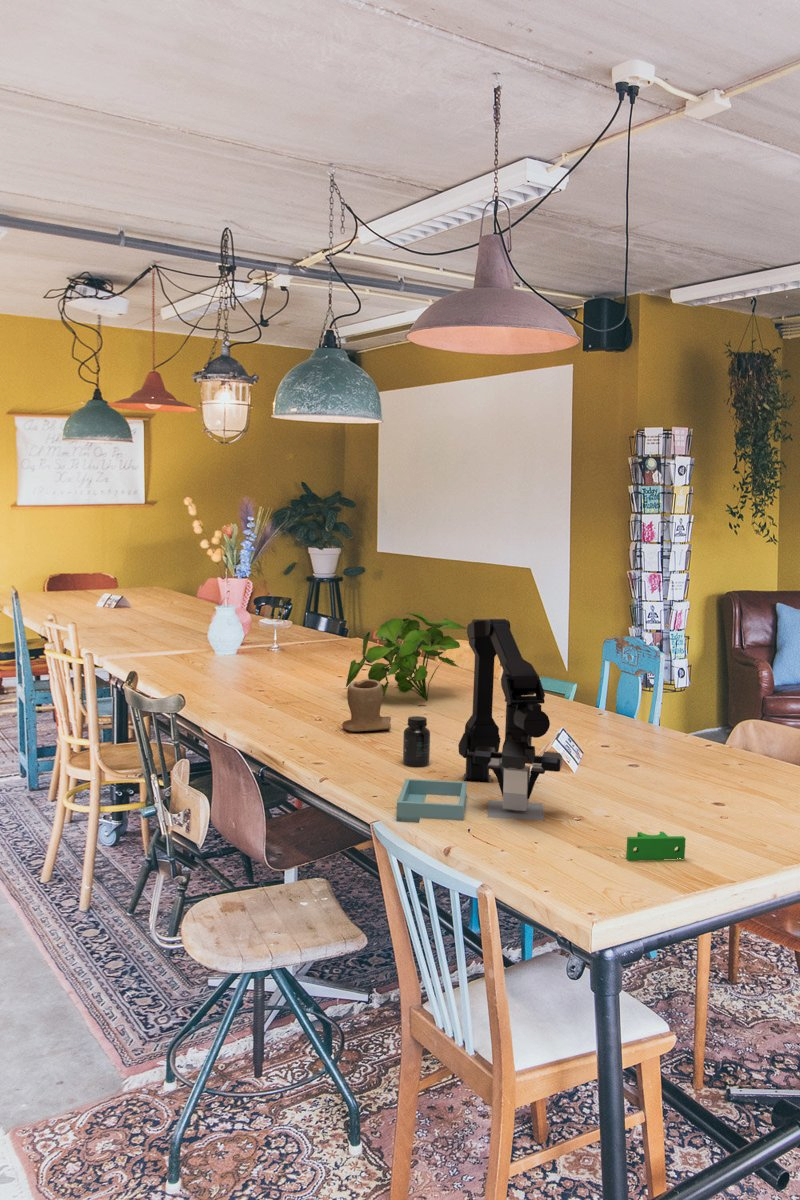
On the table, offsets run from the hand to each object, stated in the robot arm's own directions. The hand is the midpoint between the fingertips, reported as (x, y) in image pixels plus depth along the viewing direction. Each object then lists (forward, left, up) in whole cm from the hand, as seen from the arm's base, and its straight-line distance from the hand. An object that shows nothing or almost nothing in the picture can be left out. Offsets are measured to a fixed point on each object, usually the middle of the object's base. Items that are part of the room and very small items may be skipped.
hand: (516, 797), depth 212 cm
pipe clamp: (+21, +26, -4) cm, 34 cm away
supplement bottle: (-37, -25, -4) cm, 45 cm away
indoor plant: (-121, -36, -4) cm, 126 cm away
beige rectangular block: (0, 0, -2) cm, 2 cm away
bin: (0, -18, -4) cm, 18 cm away
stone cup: (-71, -42, -4) cm, 83 cm away
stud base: (0, 0, -4) cm, 4 cm away
